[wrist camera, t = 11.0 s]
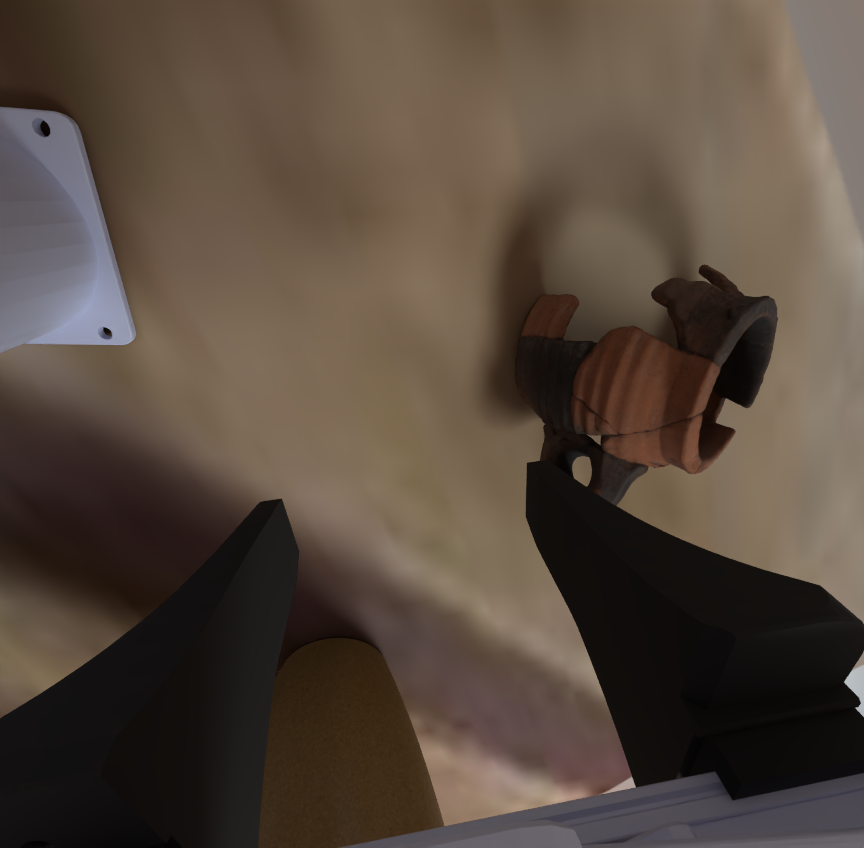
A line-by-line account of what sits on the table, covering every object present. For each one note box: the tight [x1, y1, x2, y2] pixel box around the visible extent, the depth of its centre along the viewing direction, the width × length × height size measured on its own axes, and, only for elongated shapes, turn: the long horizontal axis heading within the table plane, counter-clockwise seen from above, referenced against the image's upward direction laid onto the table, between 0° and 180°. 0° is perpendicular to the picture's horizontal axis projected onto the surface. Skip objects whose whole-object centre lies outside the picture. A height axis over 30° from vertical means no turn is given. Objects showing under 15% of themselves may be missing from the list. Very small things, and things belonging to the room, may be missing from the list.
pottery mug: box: [515, 265, 778, 506], centre depth 20 cm, size 12×9×8 cm
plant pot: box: [258, 638, 444, 848], centre depth 23 cm, size 15×15×16 cm
